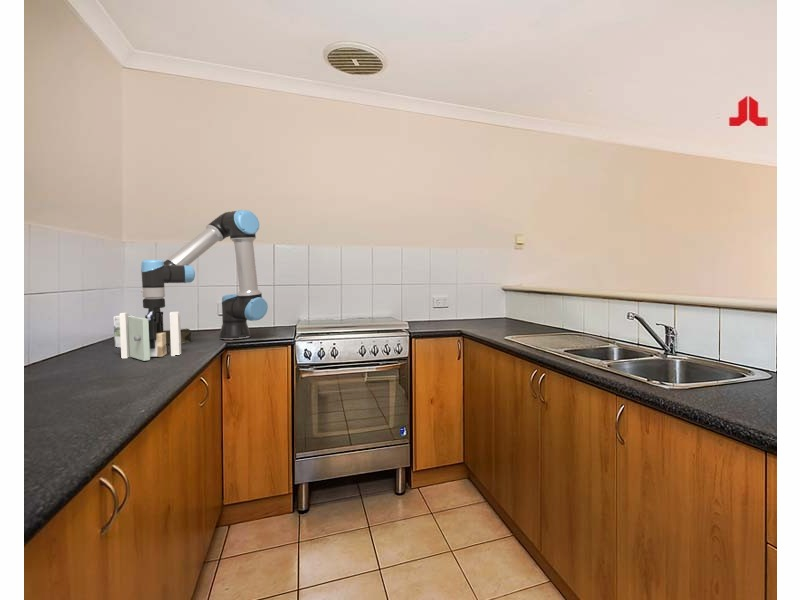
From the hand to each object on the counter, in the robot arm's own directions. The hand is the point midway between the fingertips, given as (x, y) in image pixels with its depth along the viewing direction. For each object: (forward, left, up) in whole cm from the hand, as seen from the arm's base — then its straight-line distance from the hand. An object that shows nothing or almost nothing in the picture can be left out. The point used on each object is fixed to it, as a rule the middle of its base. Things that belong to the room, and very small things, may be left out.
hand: (156, 354), depth 154 cm
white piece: (+1, -1, -1) cm, 1 cm away
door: (+5, +5, 0) cm, 7 cm away
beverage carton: (+4, -32, -1) cm, 32 cm away
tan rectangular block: (0, 0, 0) cm, 0 cm away
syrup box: (+20, -26, -1) cm, 33 cm away
